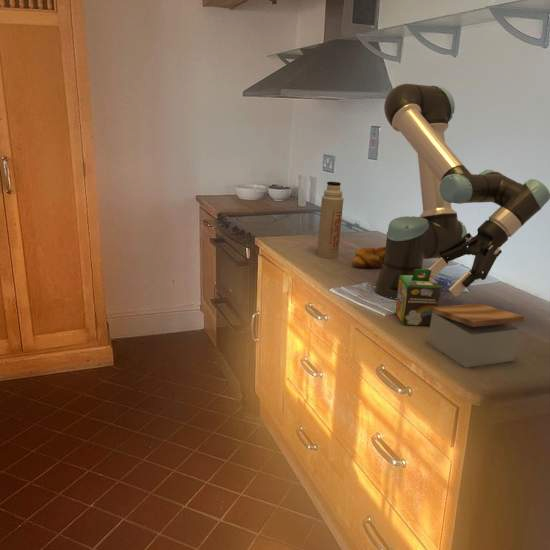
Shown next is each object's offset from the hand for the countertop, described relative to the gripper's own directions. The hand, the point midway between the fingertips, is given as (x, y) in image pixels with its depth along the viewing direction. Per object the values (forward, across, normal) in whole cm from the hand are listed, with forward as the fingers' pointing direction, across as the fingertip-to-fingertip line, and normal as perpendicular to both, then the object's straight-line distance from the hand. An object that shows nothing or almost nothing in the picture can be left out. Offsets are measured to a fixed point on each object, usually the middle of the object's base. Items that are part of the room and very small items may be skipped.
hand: (439, 284), depth 146 cm
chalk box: (+11, +2, -4) cm, 12 cm away
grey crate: (+8, -18, -7) cm, 21 cm away
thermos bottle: (+14, +67, -1) cm, 69 cm away
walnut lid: (+1, -18, -1) cm, 18 cm away
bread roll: (+6, +54, -9) cm, 55 cm away
